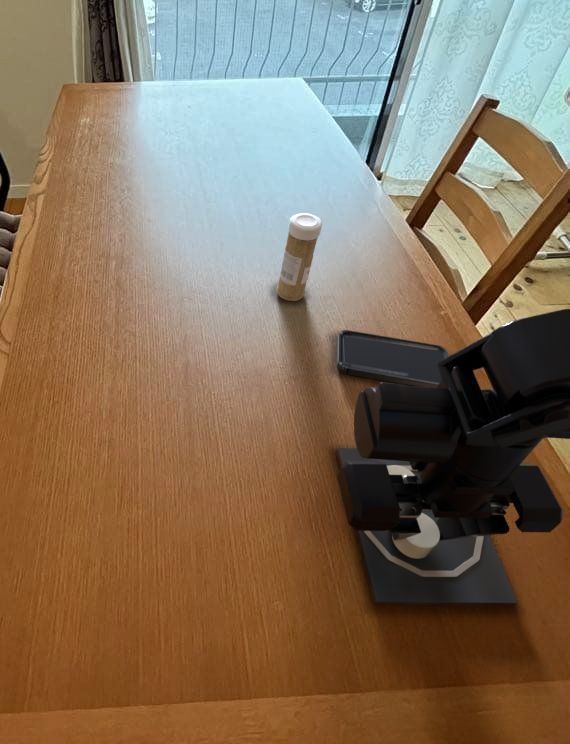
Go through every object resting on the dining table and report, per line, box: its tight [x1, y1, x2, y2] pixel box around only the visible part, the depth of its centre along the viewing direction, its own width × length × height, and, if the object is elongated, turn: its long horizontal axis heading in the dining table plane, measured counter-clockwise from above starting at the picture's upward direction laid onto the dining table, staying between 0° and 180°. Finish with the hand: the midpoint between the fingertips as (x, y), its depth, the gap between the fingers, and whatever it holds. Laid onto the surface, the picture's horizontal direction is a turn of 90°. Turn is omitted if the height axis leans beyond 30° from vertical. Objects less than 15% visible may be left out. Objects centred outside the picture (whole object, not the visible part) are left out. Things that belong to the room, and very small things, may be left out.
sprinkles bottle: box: [275, 212, 323, 302], centre depth 84 cm, size 5×5×14 cm
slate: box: [335, 447, 519, 608], centre depth 61 cm, size 14×18×1 cm
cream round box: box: [392, 513, 440, 559], centre depth 57 cm, size 4×4×2 cm
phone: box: [336, 329, 449, 388], centre depth 78 cm, size 8×1×15 cm
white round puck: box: [387, 465, 415, 479], centre depth 62 cm, size 4×4×2 cm
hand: (415, 535), depth 57 cm, fingers closed on cream round box, 4 cm apart
